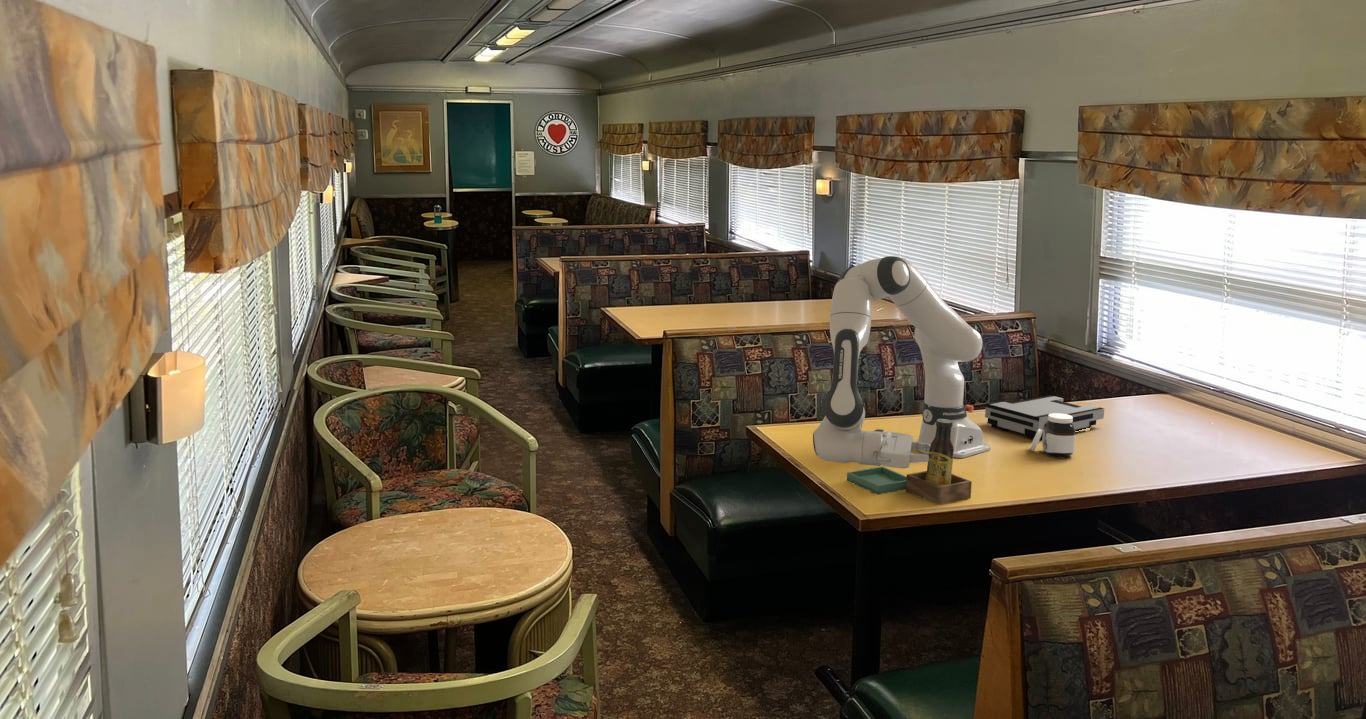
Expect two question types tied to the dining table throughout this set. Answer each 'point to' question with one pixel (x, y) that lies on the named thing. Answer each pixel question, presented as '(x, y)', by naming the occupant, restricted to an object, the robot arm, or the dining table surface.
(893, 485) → the tray
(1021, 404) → the game console
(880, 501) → the dining table surface
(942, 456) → the sauce bottle
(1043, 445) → the spread jar
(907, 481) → the caddy
